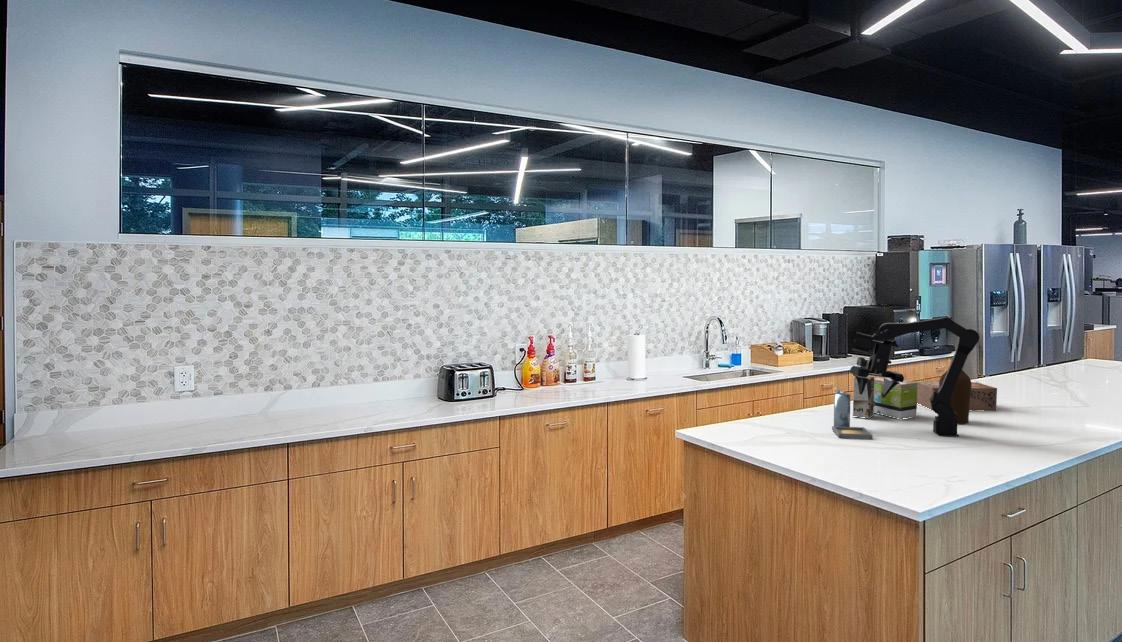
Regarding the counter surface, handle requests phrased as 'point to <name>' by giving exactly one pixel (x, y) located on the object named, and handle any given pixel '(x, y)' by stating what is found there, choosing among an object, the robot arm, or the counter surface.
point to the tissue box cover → (979, 398)
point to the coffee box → (864, 399)
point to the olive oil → (960, 396)
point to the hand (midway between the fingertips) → (871, 395)
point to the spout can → (841, 409)
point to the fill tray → (852, 432)
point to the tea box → (896, 399)
